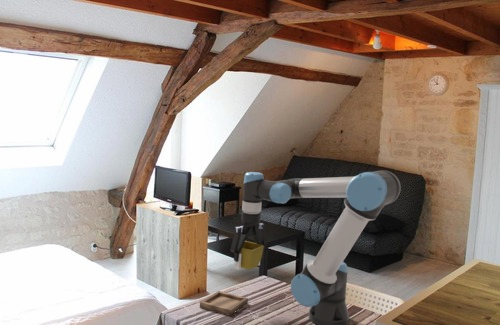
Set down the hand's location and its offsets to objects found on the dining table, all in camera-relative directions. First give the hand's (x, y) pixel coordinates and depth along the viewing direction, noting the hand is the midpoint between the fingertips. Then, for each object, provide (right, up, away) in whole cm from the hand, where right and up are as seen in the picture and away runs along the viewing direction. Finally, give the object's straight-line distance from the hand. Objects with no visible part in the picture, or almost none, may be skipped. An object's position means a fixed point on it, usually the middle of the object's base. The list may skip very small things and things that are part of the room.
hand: (247, 266), depth 185 cm
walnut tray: (-9, -16, +2) cm, 19 cm away
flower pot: (0, 0, 0) cm, 0 cm away
